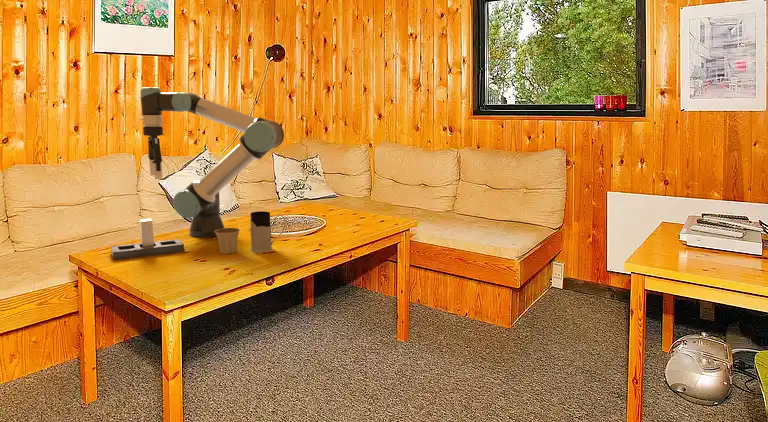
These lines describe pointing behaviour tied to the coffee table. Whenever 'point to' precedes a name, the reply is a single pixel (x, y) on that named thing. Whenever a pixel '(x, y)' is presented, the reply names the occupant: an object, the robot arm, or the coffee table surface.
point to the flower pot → (227, 239)
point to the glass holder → (262, 232)
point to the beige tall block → (146, 233)
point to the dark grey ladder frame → (147, 249)
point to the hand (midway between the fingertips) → (156, 177)
